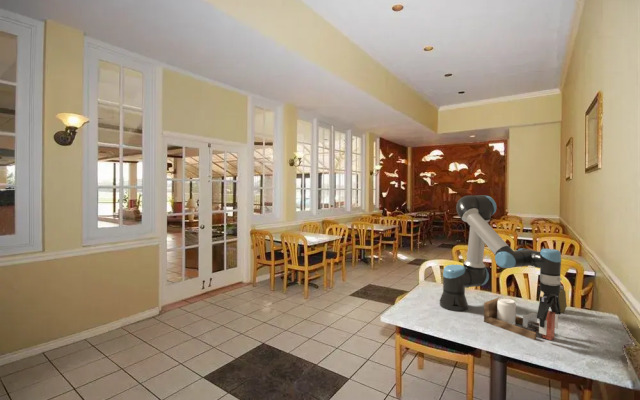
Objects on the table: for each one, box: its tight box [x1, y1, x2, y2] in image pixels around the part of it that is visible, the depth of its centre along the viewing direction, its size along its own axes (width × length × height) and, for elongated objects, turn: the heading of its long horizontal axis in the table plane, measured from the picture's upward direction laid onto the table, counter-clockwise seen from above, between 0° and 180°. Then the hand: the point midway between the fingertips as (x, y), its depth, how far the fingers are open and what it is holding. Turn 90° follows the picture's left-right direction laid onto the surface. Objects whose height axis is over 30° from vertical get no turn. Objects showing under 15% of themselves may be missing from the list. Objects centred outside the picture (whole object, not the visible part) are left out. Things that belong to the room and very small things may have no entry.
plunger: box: [522, 310, 556, 341], centre depth 149 cm, size 10×10×12 cm
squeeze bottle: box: [549, 281, 568, 314], centre depth 179 cm, size 8×8×18 cm
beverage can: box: [497, 297, 517, 326], centre depth 162 cm, size 8×8×12 cm
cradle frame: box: [483, 297, 539, 341], centre depth 158 cm, size 24×14×10 cm, turn 33°
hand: (548, 330), depth 146 cm, fingers open, 11 cm apart
